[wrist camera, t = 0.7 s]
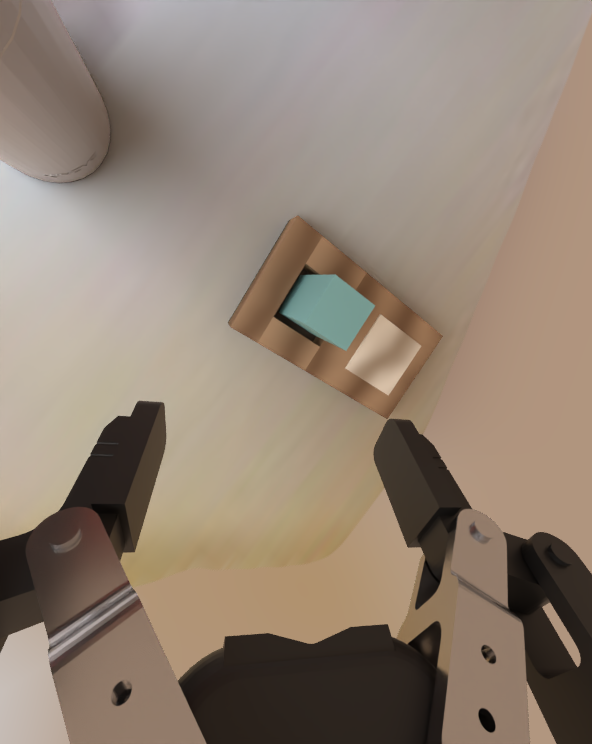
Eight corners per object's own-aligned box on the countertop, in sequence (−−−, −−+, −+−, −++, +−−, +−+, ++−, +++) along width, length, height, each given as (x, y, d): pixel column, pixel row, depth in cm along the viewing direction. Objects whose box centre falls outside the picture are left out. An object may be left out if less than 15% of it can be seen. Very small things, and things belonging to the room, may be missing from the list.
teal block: (277, 311, 33) (304, 323, 25) (300, 274, 33) (335, 274, 24) (310, 333, 35) (346, 351, 27) (332, 298, 34) (375, 305, 26)
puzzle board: (227, 322, 32) (231, 327, 29) (288, 220, 31) (298, 215, 28) (374, 409, 41) (388, 419, 38) (425, 332, 40) (444, 336, 37)
